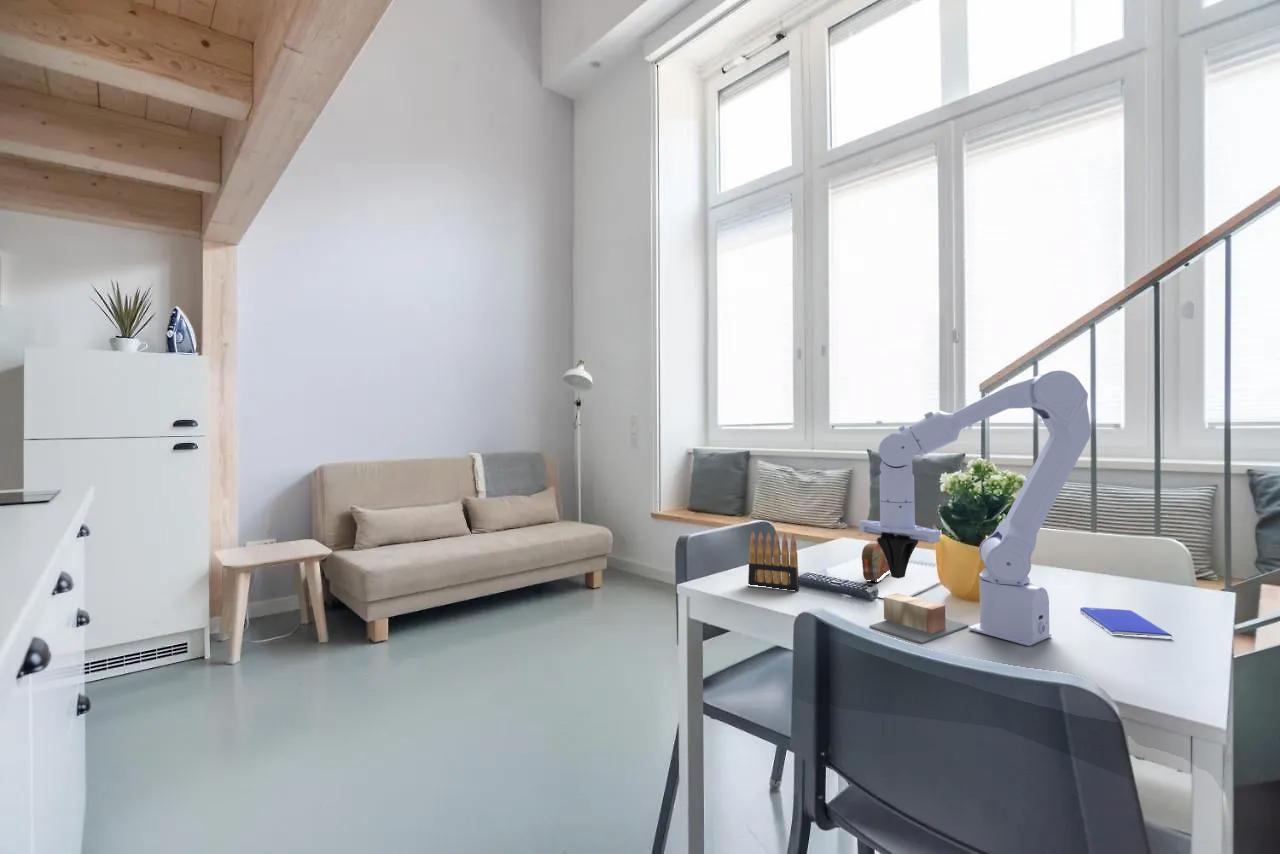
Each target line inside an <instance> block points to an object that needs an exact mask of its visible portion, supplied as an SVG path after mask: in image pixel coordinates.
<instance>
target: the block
mask: <svg viewBox="0 0 1280 854" xmlns="http://www.w3.org/2000/svg"><path fill="white" fill-rule="evenodd" d="M883 619H884V621H886V620H888V621H892V622H895V623H898V624H902V625H905V626H908V627H912V628H915V629H919V630H922V631H925V632H929V633H932V634H933V633H935V632H938V631H941V630H944V629H946V622H945V619H946V605H945V604H942V603H937V602H935V601H930V600H925V599H921V598H918V597H914V596H910V595H907V594H903V593H902V594H901V593H898V592H896V593H893V594H890V595H885V596H883Z"/></svg>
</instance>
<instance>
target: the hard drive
mask: <svg viewBox="0 0 1280 854" xmlns="http://www.w3.org/2000/svg"><path fill="white" fill-rule="evenodd" d="M1080 612H1081V613H1082V615H1083V614H1084V615H1085V616H1084V615H1083V616H1084V617H1086V616H1087V617H1088V618H1090V619H1091V620H1093V621H1095V622H1096V623H1098V624H1099V625H1101V626H1102V627H1104V628H1105V629H1107V630H1108V631H1109V632H1111V633H1112V634H1123V635H1147V636H1172V637H1173V635H1172V634H1171V633H1169V632H1167V631H1165V630H1164V629H1162V628H1160V627H1159V626H1157V625H1156V624H1154V623H1152V622H1151V621H1149V620H1148V619H1146V618H1145V617H1143V616H1141V615H1140V614H1138V613H1136V612H1134V611H1133V610H1130V609H1118V608H1117V609H1116V608H1104V607H1103V608H1101V607H1086V606H1085V607H1080V610H1079V613H1080ZM1081 613H1080V614H1081ZM1087 617H1086V618H1087ZM1088 618H1087V619H1088ZM1090 619H1089V620H1090ZM1091 620H1090V621H1091ZM1093 621H1092V622H1093Z"/></svg>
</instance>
